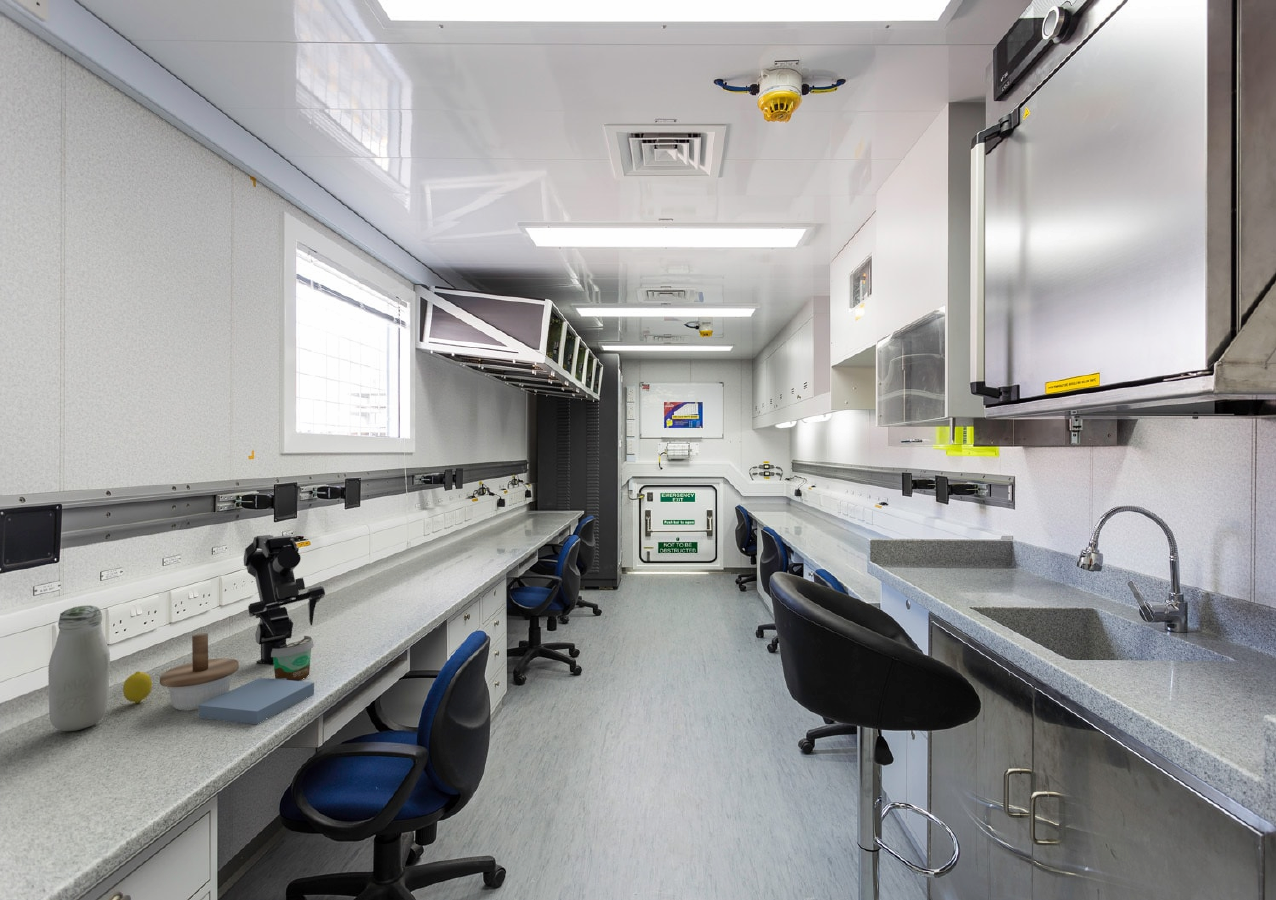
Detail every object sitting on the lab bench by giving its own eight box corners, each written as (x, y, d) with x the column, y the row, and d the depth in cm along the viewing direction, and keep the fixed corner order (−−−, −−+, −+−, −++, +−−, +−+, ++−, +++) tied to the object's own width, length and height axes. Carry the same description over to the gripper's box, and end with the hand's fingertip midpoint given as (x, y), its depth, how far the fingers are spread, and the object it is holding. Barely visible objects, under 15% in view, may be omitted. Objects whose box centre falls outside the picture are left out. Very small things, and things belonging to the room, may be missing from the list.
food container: (290, 688, 154) (290, 650, 154) (271, 686, 155) (270, 649, 155) (324, 670, 166) (324, 636, 166) (306, 669, 167) (305, 635, 167)
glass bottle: (43, 742, 125) (41, 615, 126) (58, 724, 134) (57, 605, 134) (103, 730, 131) (102, 608, 131) (114, 713, 139) (113, 598, 139)
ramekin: (206, 713, 139) (206, 684, 139) (152, 713, 139) (152, 685, 139) (244, 690, 152) (244, 664, 152) (195, 690, 153) (195, 664, 153)
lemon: (157, 699, 147) (157, 668, 147) (132, 709, 142) (132, 676, 142) (143, 697, 149) (142, 666, 149) (117, 706, 144) (117, 674, 144)
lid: (149, 678, 144) (148, 638, 144) (222, 658, 157) (222, 622, 157) (174, 692, 135) (174, 650, 135) (250, 670, 148) (249, 631, 148)
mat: (198, 717, 137) (198, 705, 137) (260, 688, 153) (260, 677, 153) (257, 724, 133) (257, 711, 133) (314, 693, 149) (314, 682, 149)
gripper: (244, 580, 155) (254, 637, 151) (321, 562, 166) (332, 615, 163) (244, 588, 164) (254, 642, 160) (317, 571, 175) (328, 621, 171)
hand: (293, 630), depth 163 cm, fingers open, 9 cm apart
